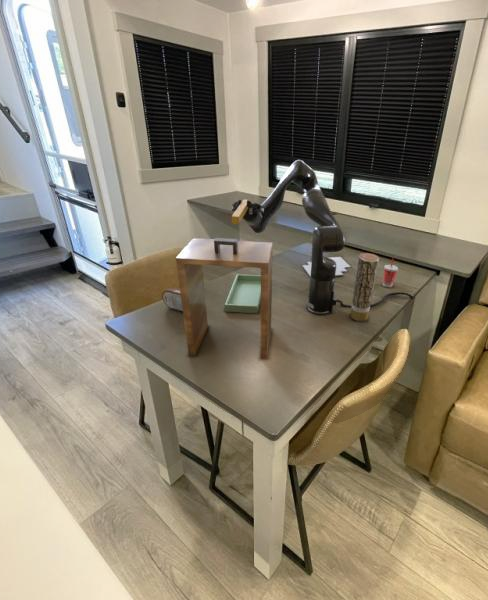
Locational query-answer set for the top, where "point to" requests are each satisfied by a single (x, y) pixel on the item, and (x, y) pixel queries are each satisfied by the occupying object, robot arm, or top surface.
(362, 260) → the bark covered firewood piece
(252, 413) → the top surface
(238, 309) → the tray
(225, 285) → the top surface
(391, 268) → the beverage cup
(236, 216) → the rod
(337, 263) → the paper stack
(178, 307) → the tin
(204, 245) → the shelf stand
